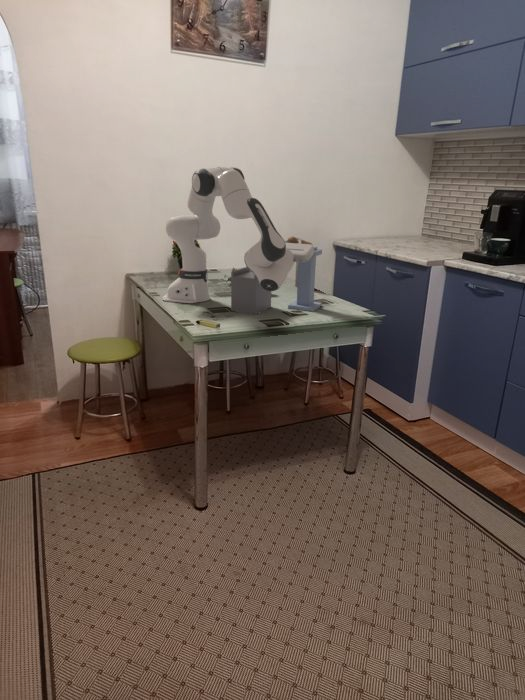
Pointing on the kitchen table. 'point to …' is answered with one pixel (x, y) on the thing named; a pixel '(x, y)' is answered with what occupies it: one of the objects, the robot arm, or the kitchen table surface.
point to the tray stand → (248, 292)
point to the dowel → (294, 240)
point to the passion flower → (230, 277)
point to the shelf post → (306, 284)
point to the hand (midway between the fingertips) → (294, 239)
